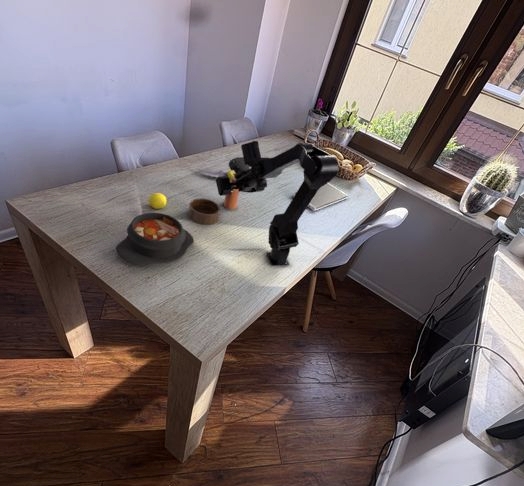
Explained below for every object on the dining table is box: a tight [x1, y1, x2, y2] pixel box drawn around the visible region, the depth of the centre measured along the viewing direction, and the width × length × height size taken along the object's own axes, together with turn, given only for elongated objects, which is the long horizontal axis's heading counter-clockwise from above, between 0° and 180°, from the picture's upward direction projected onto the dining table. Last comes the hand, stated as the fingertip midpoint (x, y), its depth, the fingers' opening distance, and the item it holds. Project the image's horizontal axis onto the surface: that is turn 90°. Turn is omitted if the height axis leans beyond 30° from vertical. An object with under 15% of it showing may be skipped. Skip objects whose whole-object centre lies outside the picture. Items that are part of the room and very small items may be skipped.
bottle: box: [223, 178, 240, 210], centre depth 137 cm, size 5×5×12 cm
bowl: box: [187, 197, 221, 226], centre depth 130 cm, size 11×11×4 cm
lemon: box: [148, 192, 167, 210], centre depth 128 cm, size 7×5×5 cm
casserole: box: [115, 212, 195, 267], centre depth 111 cm, size 25×19×8 cm
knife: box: [196, 167, 236, 181], centre depth 156 cm, size 8×3×25 cm
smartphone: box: [291, 182, 349, 212], centre depth 164 cm, size 13×27×2 cm, turn 135°
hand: (230, 190), depth 138 cm, fingers open, 6 cm apart
